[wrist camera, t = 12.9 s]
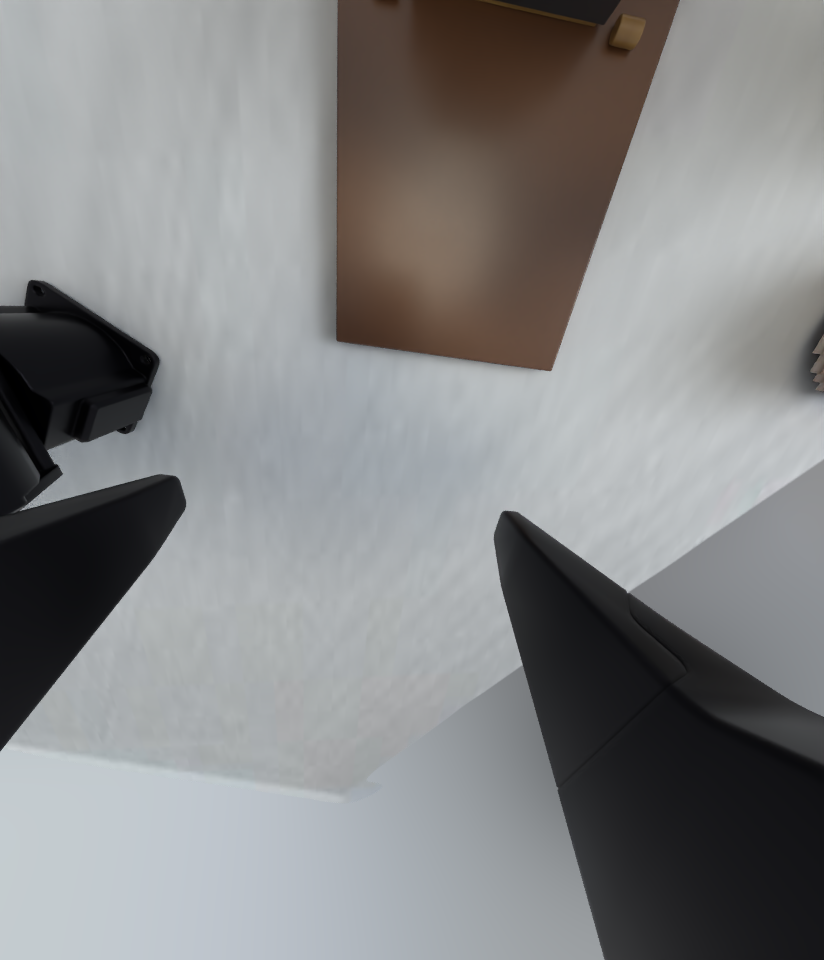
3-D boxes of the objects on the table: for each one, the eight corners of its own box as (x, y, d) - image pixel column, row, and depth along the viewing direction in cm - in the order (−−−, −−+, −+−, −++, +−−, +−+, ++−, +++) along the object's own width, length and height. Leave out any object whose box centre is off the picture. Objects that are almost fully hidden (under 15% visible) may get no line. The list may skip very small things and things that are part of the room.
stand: (344, -202, 10) (333, -287, 9) (704, -105, 11) (748, -167, 9) (339, 339, 18) (333, 342, 17) (545, 368, 19) (556, 373, 18)
